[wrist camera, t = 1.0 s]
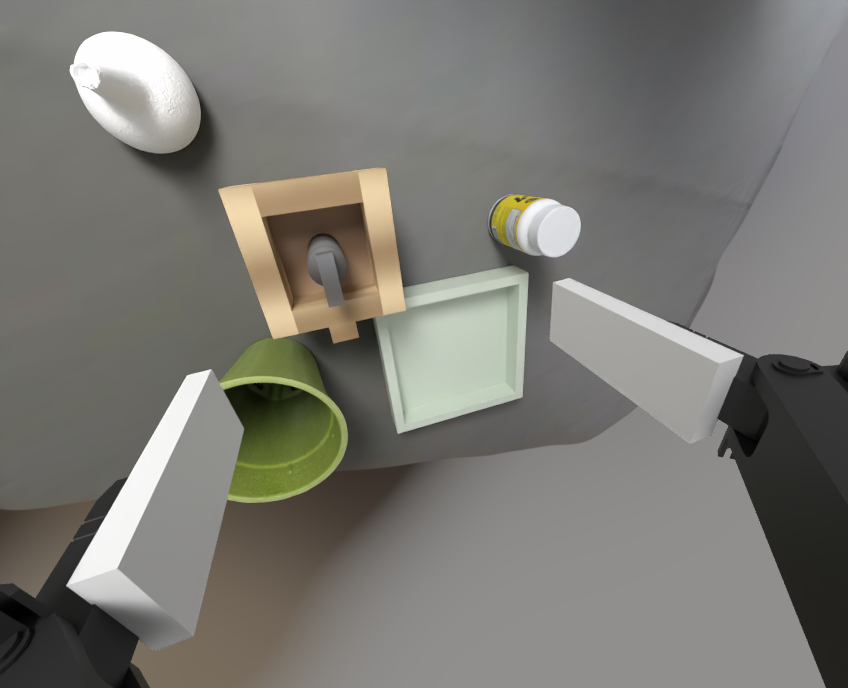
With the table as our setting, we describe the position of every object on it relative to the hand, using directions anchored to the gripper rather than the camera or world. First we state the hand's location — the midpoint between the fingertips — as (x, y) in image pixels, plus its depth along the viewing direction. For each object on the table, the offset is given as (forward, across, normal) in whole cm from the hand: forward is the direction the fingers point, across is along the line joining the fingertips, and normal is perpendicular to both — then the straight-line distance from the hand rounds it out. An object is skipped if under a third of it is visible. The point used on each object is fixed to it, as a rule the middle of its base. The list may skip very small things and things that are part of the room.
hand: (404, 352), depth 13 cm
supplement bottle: (+21, +16, -1) cm, 27 cm away
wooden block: (+21, -2, +1) cm, 21 cm away
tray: (+21, +8, -13) cm, 26 cm away
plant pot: (+21, -10, -11) cm, 26 cm away
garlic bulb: (+21, -11, +12) cm, 27 cm away
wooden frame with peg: (+16, -2, +1) cm, 16 cm away
